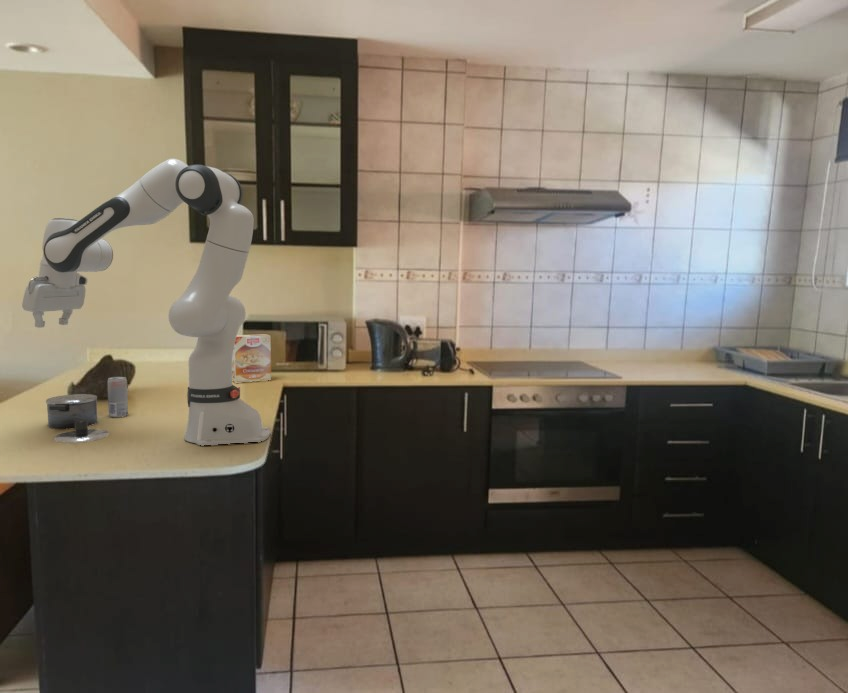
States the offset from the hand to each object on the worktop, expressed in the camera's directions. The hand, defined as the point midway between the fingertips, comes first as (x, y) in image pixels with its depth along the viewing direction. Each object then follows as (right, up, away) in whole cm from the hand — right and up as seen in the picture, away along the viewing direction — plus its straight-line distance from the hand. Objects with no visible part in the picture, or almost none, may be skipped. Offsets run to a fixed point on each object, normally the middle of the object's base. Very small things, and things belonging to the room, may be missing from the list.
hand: (51, 325), depth 171 cm
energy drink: (+8, -28, +21) cm, 36 cm away
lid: (+10, -31, -4) cm, 33 cm away
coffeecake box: (+31, -21, +87) cm, 95 cm away
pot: (0, -29, +10) cm, 30 cm away
